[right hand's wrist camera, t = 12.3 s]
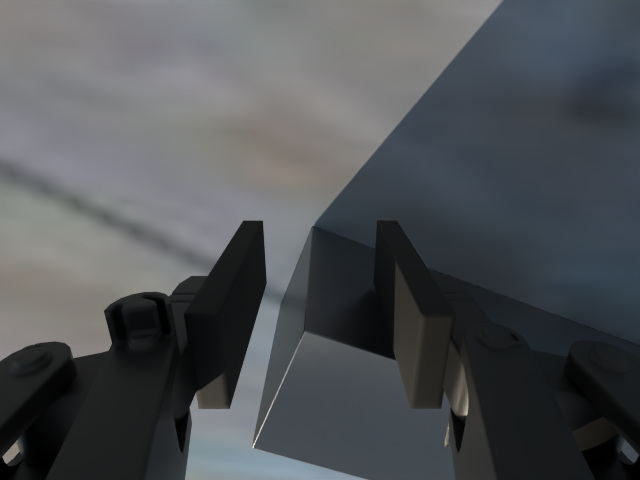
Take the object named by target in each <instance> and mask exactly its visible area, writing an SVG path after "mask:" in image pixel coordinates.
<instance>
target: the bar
mask: <svg viewBox="0 0 640 480" xmlns="http://www.w3.org/2000/svg"><path fill="white" fill-rule="evenodd" d="M374 266H375V249H374V248H371V247H368V246H365V245H363V244H360V243H357V242H354V241H352V240H349V239H346V238H344V237H341V236H338V235H335V234H333V233H330V232H327V231H324V230H322V229H319V228H316V227H313V226H312V228H311V231H310V233H309V236H308V238H307V241H306V243H305V245H304V248H303V250H302V253H301V255H300V258H299V260H298V263H297V265H296V268H295V270H294V273H293V275H292V278H291V280H290V283H289V285H288V288H287V290H286V293H285V295H284V298H283V300H282V303H281V305H280V310H279V315H278V320H277V325H276V330H275V335H274V340H273V345H272V350H271V355H270V360H269V365H268V370H267V375H266V380H265V385H264V390H263V395H262V400H261V405H260V410H259V415H258V420H257V425H256V430H255V435H254V440H253V445H252V448H254V449H258V450H262V451H265V452H269V453H272V454H276V455H280V456H283V457H287V458H291V459H294V460H298V461H302V462H305V463H309V464H313V465H316V466H320V467H324V468H327V469H331V470H335V471H338V472H342V473H346V474H349V475H353V476H357V477H360V478H364V479H368V480H455V473H454V465H453V457H452V449H451V441H450V444H449V447H445V446H444V443H445V437H446V431H447V425H448V419H449V414H450V408H451V405H450V403H449V401H448V398H447V396H446V394H445V391H444V394H443V401H442V407H441V409H410V405H409V402H408V399H407V395H406V392H405V388H404V385H403V382H402V378H401V375H400V371H399V368H398V365H397V361H396V358H395V354H394V351H393V348H392V344H391V341H390V337H389V334H388V331H387V327H386V324H385V320H384V317H383V314H382V310H381V307H380V303H379V300H378V297H377V293H376V290H375V286H374V283H373V282H374ZM427 269H428V268H427ZM428 271H429V272H430V274H431V275H445V274H442V273H439V272H437V271H434V270H431V269H428ZM454 279H456V278H454ZM456 280H458V279H456ZM458 281H459V282H461V283H462V284H463V286H464V287H465V288H466V290H467V291H468V294H470V295H471V296H472V297H473V299H474V301H476V302H477V304H478V305H479V306H480V308H481V309H482V310H483V312H484V313H485V314H486V315H487V317H488V318H489V319H490V321H491V322H492V323H495V324H500V325H503V326H505V327H508V328H510V329H512V330H514V331H515V332H517V333H518V334H520V335H521V336H522V337H523V338H524V339H525V340H526V342H527V343H528V345H529V347H530V349H532V350H536V351H540V352H545V353H550V354H556V355H561V356H566V357H567V356H568V352H569V349H570V346H571V345H572V344H573V343H575V342H576V341H582V340H591V341H601V342H606V343H609V344H612V345H615V346H617V347H619V348H621V349H623V350H625V351H628V352H629V353H631V354H633V355H634V356H636V357H637V358H639V359H640V346H639V345H636V344H634V343H631V342H628V341H625V340H623V339H620V338H617V337H614V336H612V335H609V334H606V333H604V332H601V331H598V330H595V329H593V328H590V327H587V326H584V325H582V324H579V323H576V322H573V321H571V320H568V319H565V318H562V317H560V316H557V315H554V314H552V313H549V312H546V311H543V310H541V309H538V308H535V307H532V306H530V305H527V304H524V303H521V302H519V301H516V300H513V299H510V298H508V297H505V296H502V295H500V294H497V293H494V292H491V291H489V290H486V289H483V288H480V287H478V286H475V285H472V284H469V283H467V282H464V281H461V280H458ZM621 451H622V452H623V453H624V454H625V455H626V456H627V457H628V458H629V459H630V460H631V461H632V462H633V463H635V462H636V460H637V458H638V456H639V454H638V453H637V452H636V451H635V450H634V449H633V448H632V447H631V446H630V445H629V444H628V442H627V441H626V440H625V441H624V444H623V446H622V448H621Z"/></svg>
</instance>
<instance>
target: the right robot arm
mask: <svg viewBox="0 0 640 480" xmlns="http://www.w3.org/2000/svg"><path fill="white" fill-rule="evenodd" d="M266 283H267V282H266V265H265V249H264V232H263V221H243V222H242V224H241V225H240V227H239V228H238V230H237V232H236V233H235V235H234V236H233V238H232V239H231V241H230V242H229V244H228V246H227V247H226V249H225V250H224V252H223V253H222V255H221V257H220V258H219V260H218V261H217V263H216V264H215V266H214V267H213V269H212V271H211V272H210V274H209V275H208V276H191V277H189V278H188V279H186V280H185V281H183V282H181V283H180V284H179V285H178V286H177V287H176V289H175V290H174V291H173V292H172V295H170V296H167V295H166V294H163V293H159V292H143V293H137V294H132V295H129V296H127V297H124V298H121V299H119V300H117V301H115V302H114V303H112V304H110V305H109V306H108V307H107V308H106V309H105V310H104V313H105V317H106V321H107V325H108V329H109V332H110V336H111V340H112V345H111V347H110V349H109V351H106V352H103V353H98V354H93V355H88V356H83V357H78V358H73V355H72V352H71V349H70V347H69V346H68V345H66V344H65V343H61V342H46V343H38V344H35V345H30V346H27V347H25V348H23V349H21V350H19V351H17V352H15V353H12V354H11V355H9V356H8V357H6V358H5V359H3V360H2V361H0V480H185V474H186V466H187V458H188V450H189V442H190V434H191V426H192V420H191V414H190V408H189V407H190V405H191V403H192V400H193V398H194V395H195V393H196V394H197V400H198V407H199V409H230V405H231V402H232V399H233V395H234V392H235V388H236V385H237V382H238V378H239V375H240V371H241V368H242V365H243V361H244V358H245V354H246V351H247V348H248V344H249V341H250V337H251V334H252V331H253V327H254V324H255V320H256V317H257V314H258V310H259V307H260V303H261V300H262V297H263V293H264V290H265V286H266ZM373 283H374V286H375V290H376V293H377V297H378V300H379V303H380V307H381V310H382V314H383V317H384V320H385V324H386V327H387V331H388V334H389V337H390V341H391V344H392V348H393V351H394V354H395V358H396V361H397V365H398V368H399V371H400V375H401V378H402V382H403V385H404V388H405V392H406V395H407V399H408V402H409V405H410V409H441V407H442V401H443V394H444V391H445V394H446V396H447V398H448V401H449V403H450V405H451V408H450V414H449V419H448V425H447V431H446V437H445V443H444V446H445V447H449V444H450V441H451V449H452V457H453V465H454V473H455V480H640V359H639V358H637V357H636V356H634V355H633V354H631V353H629V352H628V351H625V350H623V349H621V348H619V347H617V346H615V345H612V344H609V343H606V342H601V341H591V340H582V341H576V342H575V343H573V344H572V345H571V346H570V349H569V352H568V356H567V357H566V356H561V355H556V354H550V353H545V352H540V351H536V350H532V349H530V347H529V345H528V343H527V342H526V340H525V339H524V338H523V337H522V336H521V335H520V334H518V333H517V332H515V331H514V330H512V329H510V328H508V327H505V326H503V325H500V324H495V323H492V322H491V321H490V319H489V318H488V317H487V315H486V314H485V313H484V312H483V310H482V309H481V308H480V306H479V305H478V304H477V302H476V301H474V299H473V297H472V296H471V295H470V294H468V291H467V290H466V288H465V287H464V286H463V284H462V283H461V282H459V281H458V280H456V279H454V278H453V277H451V276H449V275H431V274H430V272H429V271H428V269H427V267H426V266H425V264H424V263H423V261H422V260H421V258H420V256H419V255H418V253H417V252H416V250H415V249H414V247H413V246H412V244H411V242H410V241H409V239H408V238H407V236H406V235H405V233H404V231H403V230H402V228H401V227H400V225H399V224H398V222H397V221H377V233H376V249H375V266H374V282H373ZM625 440H626V441H627V442H628V444H629V445H630V446H631V447H632V448H633V449H634V450H635V451H636V452H637V453H638V454H639V456H638V458H637V460H636V462H635V463H633V462H632V461H631V460H630V459H629V458H628V457H627V456H626V455H625V454H624V453H623V452H622V451H621V448H622V446H623V444H624V441H625ZM15 442H16V444H17V446H18V448H19V451H20V452H19V453H18V454H17V455H16V456H15V458H14V459H12V460H11V461H10V462H9V463H8V464H6V463H5V462H4V460H3V458H2V456H3V455H4V454H5V453H6V452H7V451H8V450H9V449H10V447H11V446H12V445H13V444H14V443H15Z"/></svg>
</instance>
